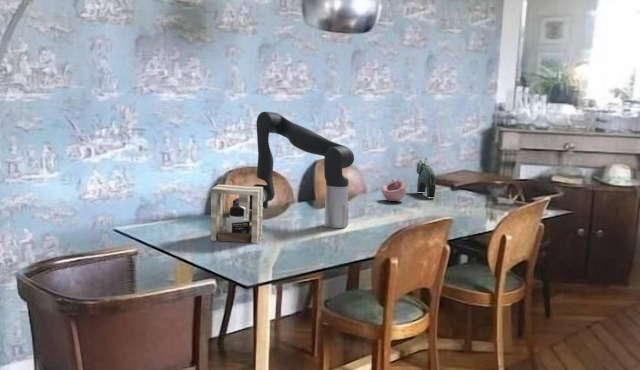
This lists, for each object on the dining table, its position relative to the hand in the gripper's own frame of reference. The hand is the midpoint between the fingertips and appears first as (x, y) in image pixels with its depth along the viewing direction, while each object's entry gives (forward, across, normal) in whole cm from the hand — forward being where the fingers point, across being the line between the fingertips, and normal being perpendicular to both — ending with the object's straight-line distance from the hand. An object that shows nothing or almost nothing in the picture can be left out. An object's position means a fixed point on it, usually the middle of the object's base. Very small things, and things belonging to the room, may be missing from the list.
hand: (247, 207), depth 280 cm
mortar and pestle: (-72, +58, +9) cm, 93 cm away
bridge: (+18, 0, +9) cm, 20 cm away
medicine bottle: (+17, 0, +9) cm, 19 cm away
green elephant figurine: (-93, +75, +9) cm, 120 cm away
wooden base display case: (+14, 0, +9) cm, 17 cm away
